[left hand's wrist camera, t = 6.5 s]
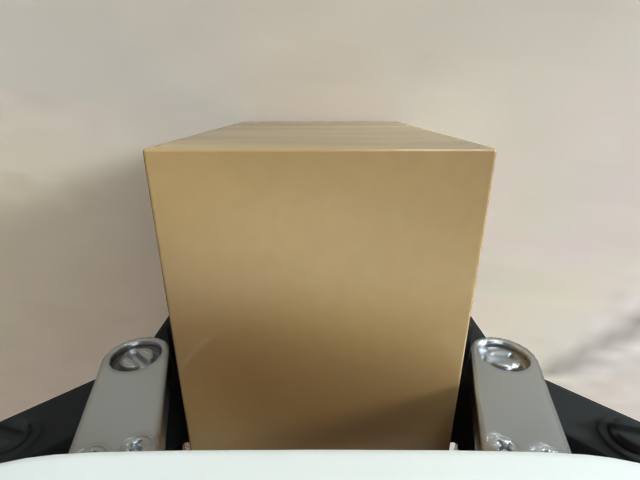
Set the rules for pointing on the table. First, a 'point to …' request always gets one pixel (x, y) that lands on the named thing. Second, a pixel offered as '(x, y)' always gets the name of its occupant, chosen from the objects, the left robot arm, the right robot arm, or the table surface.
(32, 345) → the table surface
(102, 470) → the left robot arm
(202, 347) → the bar
